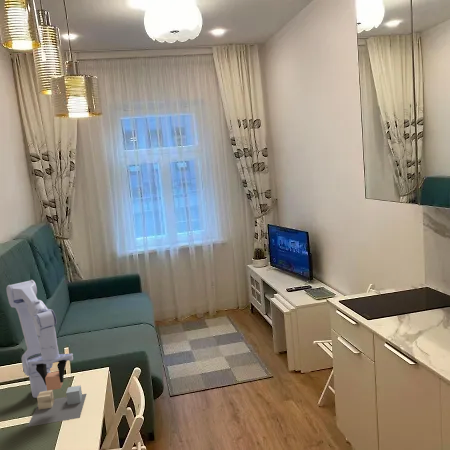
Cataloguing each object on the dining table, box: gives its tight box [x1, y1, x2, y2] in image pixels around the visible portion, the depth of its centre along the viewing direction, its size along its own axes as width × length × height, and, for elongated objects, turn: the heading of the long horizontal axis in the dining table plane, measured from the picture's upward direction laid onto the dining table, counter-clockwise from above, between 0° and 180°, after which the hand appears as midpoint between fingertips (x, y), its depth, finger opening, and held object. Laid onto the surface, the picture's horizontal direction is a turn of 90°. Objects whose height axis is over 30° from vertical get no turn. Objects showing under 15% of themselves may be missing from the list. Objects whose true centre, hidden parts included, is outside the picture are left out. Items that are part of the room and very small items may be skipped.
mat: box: [26, 393, 87, 428], centre depth 169 cm, size 18×17×1 cm
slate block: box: [65, 384, 83, 405], centre depth 174 cm, size 4×4×4 cm
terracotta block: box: [45, 370, 64, 391], centre depth 168 cm, size 4×4×4 cm
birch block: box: [36, 390, 55, 410], centre depth 173 cm, size 4×4×4 cm
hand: (54, 382), depth 168 cm, fingers closed on terracotta block, 4 cm apart
